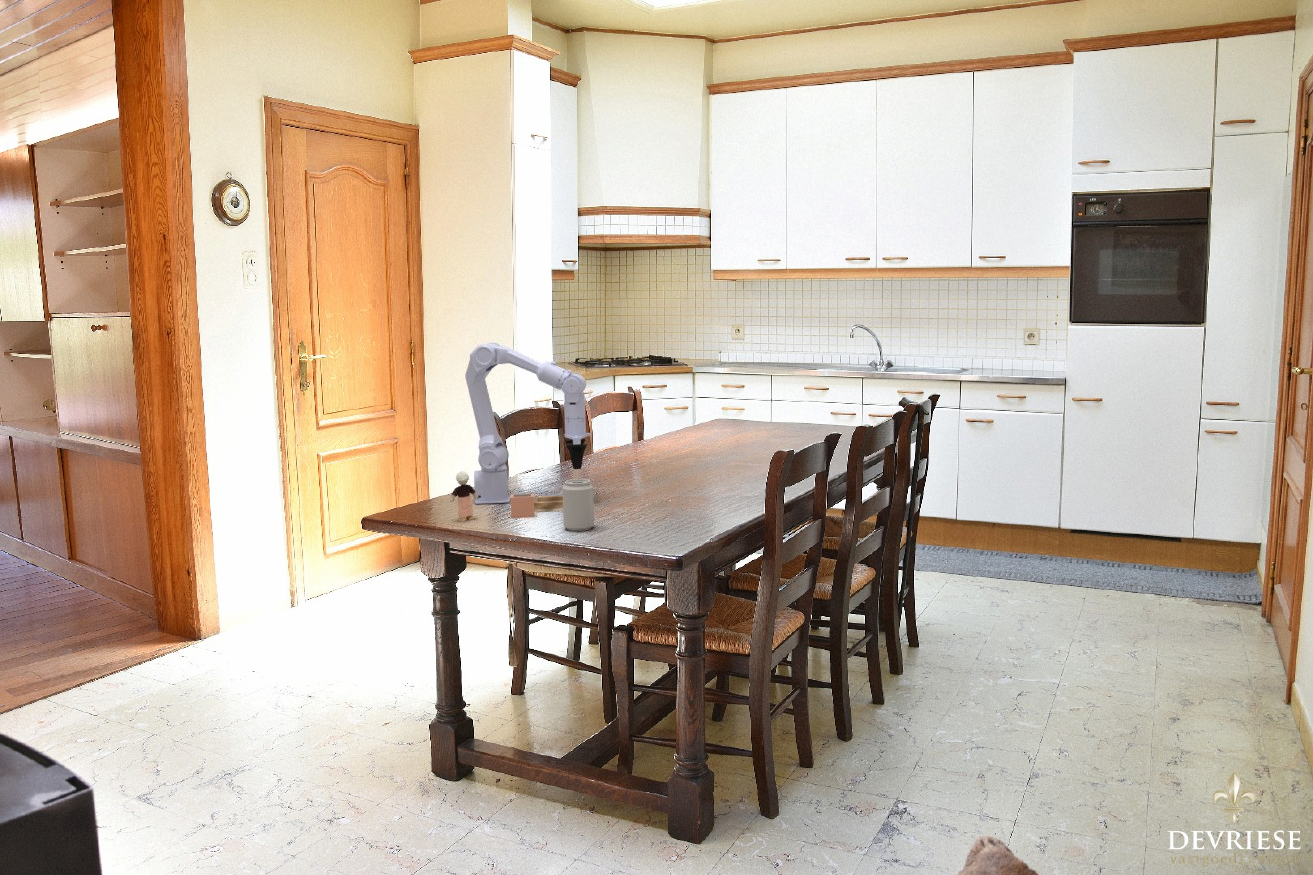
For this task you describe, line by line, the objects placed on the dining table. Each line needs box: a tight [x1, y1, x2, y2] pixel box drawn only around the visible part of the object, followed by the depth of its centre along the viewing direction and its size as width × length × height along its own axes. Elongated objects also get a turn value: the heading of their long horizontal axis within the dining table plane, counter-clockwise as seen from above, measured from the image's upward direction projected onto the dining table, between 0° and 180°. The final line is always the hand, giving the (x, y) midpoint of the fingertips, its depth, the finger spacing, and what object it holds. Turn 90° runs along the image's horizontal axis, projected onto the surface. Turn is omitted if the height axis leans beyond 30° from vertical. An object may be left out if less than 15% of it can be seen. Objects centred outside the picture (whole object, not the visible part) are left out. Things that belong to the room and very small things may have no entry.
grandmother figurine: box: [449, 471, 478, 522], centre depth 263 cm, size 8×4×13 cm, turn 141°
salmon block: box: [509, 491, 536, 519], centre depth 267 cm, size 6×4×6 cm, turn 96°
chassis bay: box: [534, 495, 563, 513], centre depth 276 cm, size 16×9×2 cm, turn 96°
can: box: [561, 478, 595, 532], centre depth 251 cm, size 8×8×12 cm
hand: (576, 466), depth 283 cm, fingers open, 7 cm apart
